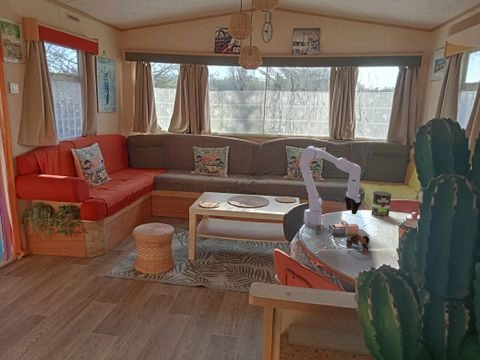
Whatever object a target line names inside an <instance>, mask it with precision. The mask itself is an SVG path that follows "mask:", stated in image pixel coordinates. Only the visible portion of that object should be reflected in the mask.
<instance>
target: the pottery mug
mask: <svg viewBox="0 0 480 360" xmlns="http://www.w3.org/2000/svg"><path fill="white" fill-rule="evenodd" d="M345 242H346V244H345V245H346V247H350V248H352V247H353V245H355V246H359V242H360V243H361V245H362V247H364V248H363V249H362V252H363V255H365V254H367V253H368V252H369V248H368V247H369V246H368V245H369V243H370V236H360V235H354V236H349V238H347V239H345Z"/></svg>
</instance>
